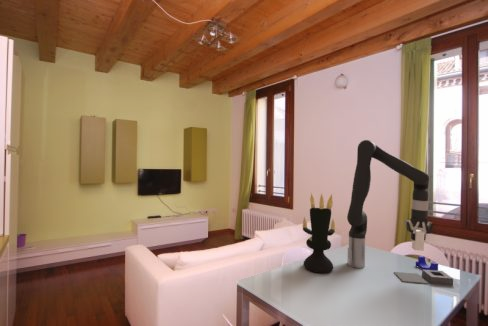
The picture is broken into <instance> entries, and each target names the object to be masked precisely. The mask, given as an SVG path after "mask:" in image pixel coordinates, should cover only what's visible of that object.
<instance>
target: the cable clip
mask: <svg viewBox="0 0 488 326" xmlns="http://www.w3.org/2000/svg"><path fill="white" fill-rule="evenodd" d="M417 266H418V267H419V269H420V268H421V269H420V270H422V269H424V270H437V271H439V263H438V262H430V266H429V265H428V264H427V261H426V258H425V256H421V255H419V256H418V258H417V260H416V261H415V267H417ZM418 267H417V268H418Z"/></svg>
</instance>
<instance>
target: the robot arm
mask: <svg viewBox="0 0 488 326" xmlns="http://www.w3.org/2000/svg"><path fill="white" fill-rule="evenodd" d="M372 158H373V159H375V160H376V161H379V162H380V163H382V164H384V165H385V166H386V167H387V168H389V169H391V170H393V171H394V172H396V173H398V174H399V175H402V176H403V177H406V179H408V180H410V181H412V182H413V191H412V196H411V197H412V201H411V207H410V210H411V211H410V219H408V220H404V224H405V228H406V231H407V232H409V233H410V239H411V241H412V240H413V241H415V232H416V230H418V229H419V230H421V231H423V232H425V233H424V241H426V235H427V234H431V231H432V230H433V227H434V223H433V222H431V221H429V220H428V217H429V183H430V182H429V181H430V176H429V174H428V173H427V172H426V171H423V170H420V169H418V168H417V167H415V166H413V165H412V164H410V163H408V162H407V161H404V160H403V159H402V158H399V157H396V156H395V155H393V154H390V153H388V152H386V151H385V150H383V149H382V148H381V147H379V146H378V145H377V144H376V143H374V142H373V141H371V140H369V139H365V140H364V139H363V140H362V141H360V142H359V143H358V145H357V157H356V159H357V160H356V165H355V171H354V175H353V182H352V190H351V197H350V203H349V204H350V205H349V208H348V212H347V217H346V219H347V222H348V224H349V225H350V229H349V231H348V247H347V265H348V266H349V267H351V268H352V267H353V268H356V269H363V268H365V267H366V235H367V231H368V229H367V228H368V215H367V213H366V212H365V211H364V210H363V209H364V204H365V201H366V200H367V197H368V195H369V192H370V187H371V181H372V179H371V178H372V173H371V162H372ZM411 224H412V225H411Z"/></svg>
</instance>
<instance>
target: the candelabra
mask: <svg viewBox="0 0 488 326" xmlns="http://www.w3.org/2000/svg"><path fill="white" fill-rule="evenodd" d="M309 198H310V199H309V200H310V207H311V208H309V219H310V228H311V229H310V228H308V224H307V223H308V222H307V220H306V217H305V216H303V221H302V230H303V232H304V233H306V234H307V235H310V237H309V238H308V239H307V240H306V242H305V245H306V246H307V247H308V248H309V249H311V250H313V251H312V253H311V254H310V255H308V256H307V257H306V258H305V259H304V261H303V264H302V265H303V267H304V268H305V269H306V270H308V271H310V272H313V273H318V274H319V273H320V274H326V273H330V272H332V271H333V270H334V264H333V262H332V261H331V259H330V258H329V257H327V256H326V255H325V252H324V251H327V250H330V249H331V247H332V242H331V241H330V240H329V238H328V237H330V236H332V235H334V234H335V232H336V230H335V229H336V224H335V220H334V219H331V218H332V207H333V193H331V194H330V196H329V198H328V200H327V202H326V208H325V203H324V202H325V200H324V197H323V193H321V194H320V198H319V202H318V203H319V207H315V199H314V196H313V193H312V192H310V197H309Z"/></svg>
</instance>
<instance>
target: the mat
mask: <svg viewBox="0 0 488 326" xmlns="http://www.w3.org/2000/svg"><path fill="white" fill-rule="evenodd" d="M393 274H394V275H395V276H396V277H397V278H398V279H399V280H400V281H401V282H402V283H411V284H422V285H429V281H427V280H426V279H425V278H424V277H423V276H422V275H420V274H418V273H414V272H402V271H401V272H400V271H394V272H393Z"/></svg>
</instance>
